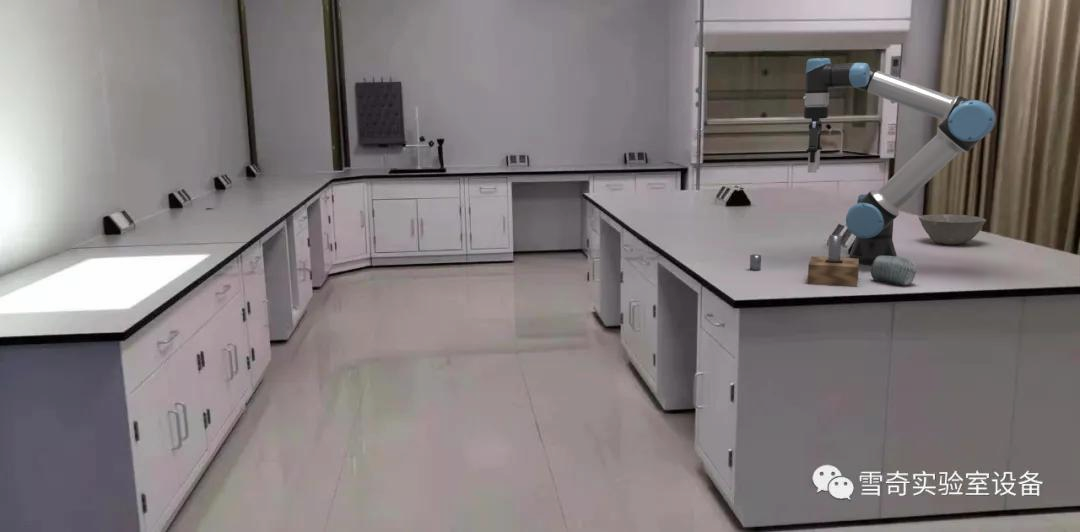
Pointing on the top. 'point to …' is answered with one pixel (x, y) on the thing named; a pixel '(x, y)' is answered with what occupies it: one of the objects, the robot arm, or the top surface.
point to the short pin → (755, 262)
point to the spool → (893, 270)
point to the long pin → (834, 249)
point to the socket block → (833, 271)
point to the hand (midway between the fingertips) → (813, 170)
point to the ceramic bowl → (951, 227)
